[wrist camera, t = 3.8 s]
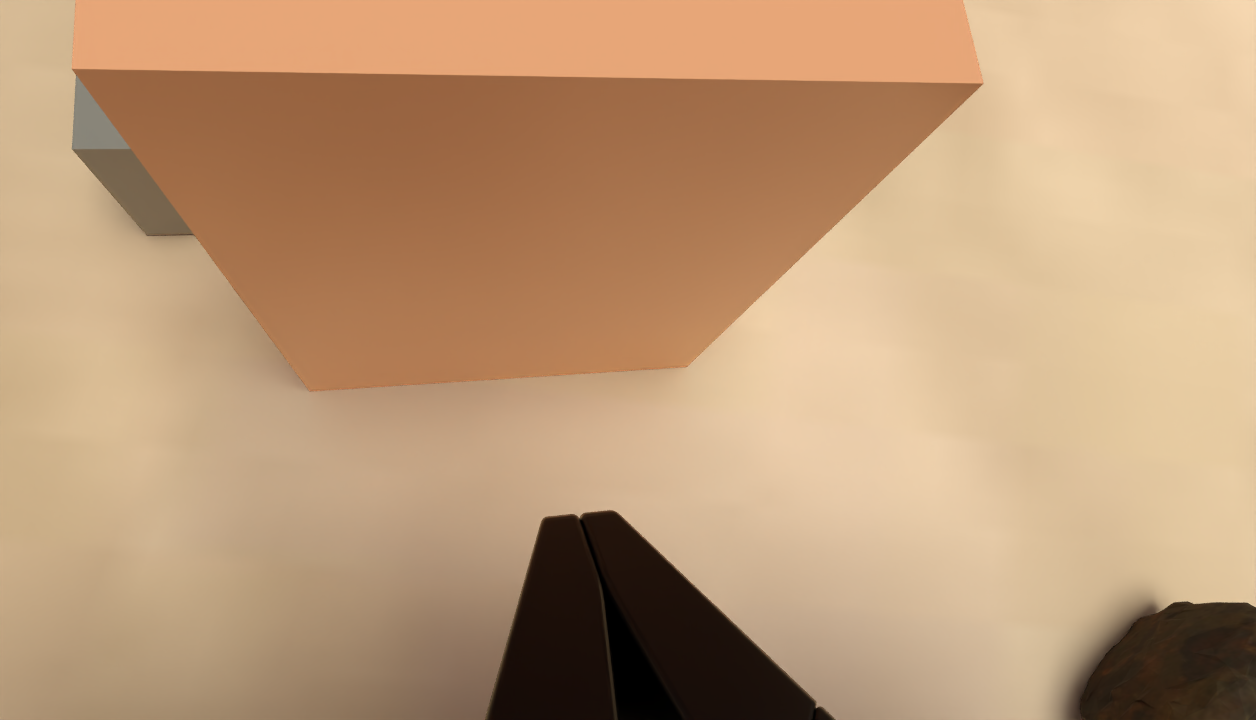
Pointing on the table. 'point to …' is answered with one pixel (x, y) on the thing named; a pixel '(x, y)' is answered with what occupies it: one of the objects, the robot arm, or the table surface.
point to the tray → (121, 168)
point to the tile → (515, 162)
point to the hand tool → (1179, 667)
